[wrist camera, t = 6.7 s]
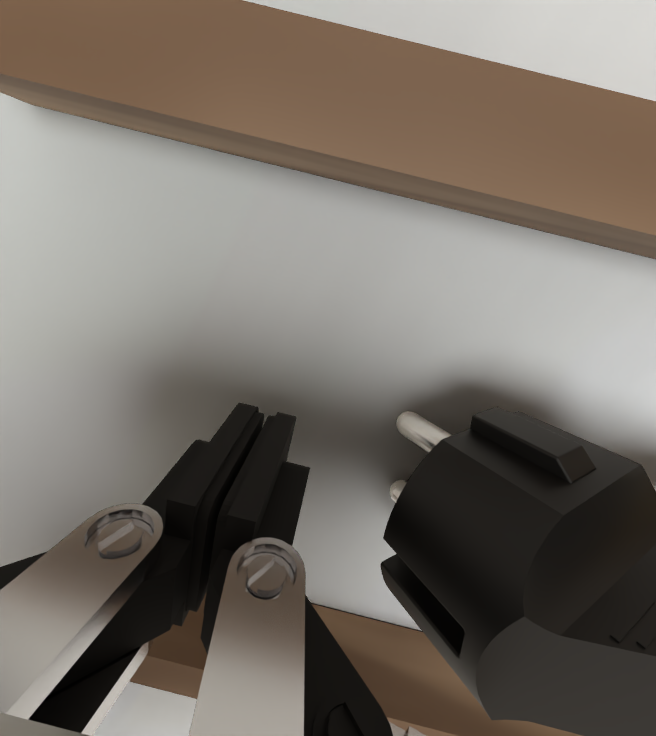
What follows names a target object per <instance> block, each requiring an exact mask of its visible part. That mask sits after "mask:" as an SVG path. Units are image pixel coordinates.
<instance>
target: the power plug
mask: <svg viewBox="0 0 656 736" xmlns="http://www.w3.org/2000/svg"><path fill="white" fill-rule="evenodd" d="M396 426H397V430H398V431H399V432H400V433H401V434H402V435H403V436H405V437H406V438H408V439H409V440H411V441H412V442H414V443H415V444H416V445H418V446H419V447H421V448H422V449H424V450H425V451H426V452H428V454H427V456H426V457H425V458H424V459H423V460H422V462H421V463H420V464H419V466H418V467H417V468H416V470H415V471H414V472H413V474H412V475H411V477H410V478H409V480H408V481H407V482H406V481H404V480H397V481H395V482H394V483H393V484H392V485H391V487H390V490H389V491H390V497H391V498H392V500H393V501H394V502H395V505H394V508H393V510H392V512H391V515H390V518H389V520H388V523H387V526H386V530H385V533H384V537H383V539H384V540H385V541H386V542H387V543H388V544H389V545H390V547H391V548H392V549H393V550H394V551H395V552H396V553H397V554H396V555H394V556H392V557H390V558H388V559H386V560H384V561H383V562H382V563H381V570H382V575H383V579H384V581H385V583H386V585H387V587H388V588H389V589H390V591H391V592H392V593H393V595H394V596H395V597H396V598H397V600H398V601H399V602H400V603H401V605H402V606H403V607H404V608H405V610H406V611H407V612H408V614H409V615H410V616H411V617H412V619H413V620H414V621H415V622H416V624H417V625H418V626H419V628H420V629H421V630H422V631H423V633H424V634H425V635H426V636H427V638H428V639H429V640H430V641H431V643H432V644H433V645H434V647H435V648H436V649H437V650H438V652H439V653H440V654H441V655H442V657H443V658H444V659H445V660H446V662H447V663H448V664H449V666H450V667H451V668H452V669H453V671H454V672H455V673H456V674H457V676H458V677H459V678H460V679H461V681H462V682H463V683H464V685H465V686H466V687H467V688H468V690H469V691H470V692H471V693H472V695H473V696H474V697H475V699H476V700H477V701H478V702H479V704H480V705H481V706H482V707H483V709H484V710H485V711H486V713H487V715H488V716H489V717H490V719H491V720H517V721H529V722H533V723H537V724H540V725H544V726H548V727H552V728H556V729H559V730H563V731H567V732H571V733H575V734H578V735H582V736H656V491H655V490H654V488H653V486H652V484H651V482H650V480H649V478H648V476H647V474H646V472H645V470H644V468H643V467H642V466H641V465H640V464H638V463H636V462H633V461H631V460H629V459H627V458H624V457H622V456H620V455H617V454H615V453H613V452H611V451H608V450H606V449H604V448H601V447H599V446H597V445H595V444H592V443H590V442H588V441H585V440H583V439H581V438H579V437H576V436H574V435H572V434H569V433H567V432H565V431H563V430H560V429H558V428H556V427H554V426H551V425H549V424H547V423H544V422H542V421H540V420H538V419H535V418H533V417H531V416H528V415H526V414H524V413H522V412H519V411H518V412H515V413H510V412H508V411H505V410H503V409H501V408H499V407H495V408H492V409H489V410H486V411H483V412H480V413H477V414H475V415H473V417H472V422H471V427H470V429H468V430H466V431H463V432H460V433H457V434H455V435H451V434H450V433H448V432H446V431H445V430H443V429H441V428H440V427H438V426H436V425H434V424H433V423H431V422H429V421H428V420H426V419H424V418H423V417H421V416H419V415H418V414H416V413H414V412H410V411H407V412H403V413H401V414H400V415H399V417H398V418H397V421H396Z"/></svg>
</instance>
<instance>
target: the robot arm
mask: <svg viewBox="0 0 656 736" xmlns="http://www.w3.org/2000/svg"><path fill="white" fill-rule="evenodd" d="M258 410H259V408H258V407H255V406H251V405H247V404H243V403H238V405H237V406H236V407H235V409H234V410H233V411H232V413H231V414H230V415H229V417H228V418H227V419H226V421H225V422H224V423H223V425H222V426H221V427H220V429H219V430H218V431H217V433H216V434H215V435H214V437H213V438H212V439H211V441H210V442H206V441H202V440H196V441H195V442H194V443H193V444H192V445H191V446H190V447H189V448H188V450H187V451H186V452H185V453H184V454H183V456H182V457H181V458H180V459H179V461H178V462H177V463H176V464H175V465H174V467H173V468H172V469H171V470H170V471H169V473H168V474H167V475H166V476H165V478H164V479H163V480H162V481H161V482H160V484H159V485H158V486H157V487H156V488H155V490H154V491H153V492H152V493H151V495H150V496H149V497H148V498H147V499H146V501H145V502H144V503H143V504H142V505H141V504H121V505H116V506H111V507H109V508H106V509H104V510H101V511H99V512H98V513H96V514H95V515H93V516H92V517H90V518H88V519H87V520H86V521H85V522H84V523H82V524H81V525H80V526H79V527H77V528H76V529H75V530H74V531H72V532H71V533H70V534H69V535H68V536H66V537H65V538H64V539H63V540H61V541H60V542H59V543H58V544H57V545H55V546H54V547H53V548H52V549H50V550H49V551H48V552H45V553H42V554H39V555H36V556H33V557H30V558H27V559H24V560H20V561H17V562H14V563H11V564H8V565H5V566H2V567H0V736H93V734H94V733H95V731H96V730H97V728H98V727H99V725H100V724H101V722H102V721H103V719H104V718H105V716H106V715H107V713H108V712H109V710H110V709H111V707H112V706H113V704H114V703H115V701H116V700H117V698H118V697H119V695H120V694H121V693H122V691H123V690H124V688H125V687H126V685H127V684H128V682H129V681H130V679H131V678H132V676H133V675H134V673H135V672H136V670H137V669H138V667H139V666H140V664H141V663H142V661H143V660H144V658H145V657H146V655H147V654H148V652H149V650H150V648H151V646H152V644H153V642H154V638H156V637H158V636H160V635H162V634H164V633H165V632H167V631H169V630H170V629H171V627H172V625H173V624H174V625H178V626H182V625H183V623H184V620H185V618H186V616H187V614H188V612H189V610H190V611H194V612H197V611H198V609H199V607H200V605H201V603H202V601H203V598H204V596H205V594H206V598H205V605H204V617H203V624H202V631H201V637H200V638H201V640H202V643H203V645H204V648H205V650H206V653H207V660H206V664H205V668H204V672H203V677H202V681H201V685H200V689H199V694H198V698H197V702H196V707H195V711H194V715H193V719H192V724H191V728H190V732H189V736H426V735H424V734H423V733H421V732H419V731H417V730H416V729H414V728H412V727H410V726H409V727H408V729H407V730H406V731H405V730H403V729H401V728H399V727H398V726H396V725H394V724H393V723H391V722H389V721H388V719H387V717H386V715H385V713H384V712H383V710H382V708H381V706H380V705H379V703H378V702H377V700H376V699H375V697H374V696H373V694H372V693H371V691H370V690H369V688H368V687H367V685H366V684H365V682H364V681H363V679H362V678H361V676H360V675H359V673H358V672H357V671H356V669H355V668H354V666H353V665H352V663H351V662H350V660H349V659H348V657H347V656H346V654H345V653H344V651H343V650H342V648H341V647H340V645H339V644H338V642H337V641H336V640H335V638H334V637H333V635H332V634H331V632H330V631H329V629H328V628H327V626H326V625H325V623H324V622H323V620H322V619H321V617H320V616H319V614H318V613H317V611H316V610H315V608H314V607H313V606H312V604H311V603H310V601H309V600H308V598H307V597H306V595H305V568H304V563H303V561H302V559H301V557H300V555H299V553H298V552H297V551H296V550H295V549H294V548H293V547H292V544H293V540H294V535H295V531H296V527H297V522H298V518H299V514H300V509H301V505H302V501H303V496H304V492H305V488H306V483H307V479H308V475H309V470H310V468H309V467H305V466H301V465H297V464H293V463H289V462H286V461H287V457H288V452H289V448H290V443H291V439H292V434H293V430H294V425H295V421H296V417H295V416H291V415H287V414H283V413H279V412H278V413H277V414H276V416H271V415H269V416H268V418H267V420H266V422H265V424H264V426H263V428H262V425H263V420H264V414H263V413H259V412H258Z"/></svg>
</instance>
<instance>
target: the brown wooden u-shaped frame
mask: <svg viewBox="0 0 656 736" xmlns="http://www.w3.org/2000/svg"><path fill="white" fill-rule="evenodd" d="M0 92H1V93H4V94H6V95H9V96H11V97H14V98H16V99H19V100H21V101H24V102H26V103H29V104H31V105H35V106H39V107H43V108H47V109H51V110H55V111H59V112H64V113H68V114H72V115H76V116H80V117H84V118H88V119H92V120H96V121H100V122H104V123H108V124H112V125H116V126H120V127H124V128H128V129H132V130H136V131H140V132H144V133H148V134H152V135H156V136H160V137H164V138H169V139H173V140H177V141H181V142H185V143H189V144H193V145H197V146H201V147H205V148H209V149H213V150H217V151H221V152H225V153H229V154H233V155H237V156H241V157H245V158H249V159H253V160H257V161H261V162H265V163H269V164H274V165H278V166H282V167H286V168H290V169H294V170H298V171H302V172H306V173H310V174H314V175H318V176H322V177H326V178H330V179H334V180H338V181H342V182H346V183H350V184H354V185H358V186H362V187H366V188H370V189H374V190H379V191H383V192H387V193H391V194H395V195H399V196H403V197H407V198H411V199H415V200H419V201H423V202H427V203H431V204H435V205H439V206H443V207H447V208H451V209H455V210H459V211H463V212H467V213H471V214H475V215H479V216H484V217H488V218H492V219H496V220H500V221H504V222H508V223H512V224H516V225H520V226H524V227H528V228H532V229H536V230H540V231H544V232H548V233H552V234H556V235H560V236H564V237H568V238H572V239H576V240H580V241H584V242H589V243H593V244H597V245H601V246H605V247H609V248H613V249H617V250H621V251H625V252H629V253H633V254H637V255H641V256H645V257H649V258H653V259H656V101H652V100H647V99H643V98H639V97H635V96H631V95H627V94H623V93H619V92H615V91H611V90H607V89H602V88H598V87H594V86H590V85H586V84H582V83H578V82H574V81H570V80H566V79H562V78H558V77H553V76H549V75H545V74H541V73H537V72H533V71H529V70H525V69H521V68H517V67H513V66H508V65H504V64H500V63H496V62H492V61H488V60H484V59H480V58H476V57H472V56H468V55H464V54H459V53H455V52H451V51H447V50H443V49H439V48H435V47H431V46H427V45H423V44H419V43H414V42H410V41H406V40H402V39H398V38H394V37H390V36H386V35H382V34H378V33H374V32H369V31H365V30H361V29H357V28H353V27H349V26H345V25H341V24H337V23H333V22H329V21H325V20H320V19H316V18H312V17H308V16H304V15H300V14H296V13H292V12H288V11H284V10H280V9H275V8H271V7H267V6H263V5H259V4H255V3H251V2H247V1H243V0H0ZM205 598H206V594H205V596H204V598H203V601H202V603H201V605H200V607H199V609H198V611H197V612H194V611H190V610H189V612H188V614H187V616H186V618H185V620H184V623H183V625H182V626H178V625H174V624H173V625H172V627H171V629H170V630H169V631H167V632H165V633H164V634H162V635H160V636H158V637H156V638H154V642H153V644H152V646H151V648H150V650H149V652H148V654H147V655H146V657H145V658H144V660H143V661H142V663H141V664H140V666H139V667H138V669H137V670H136V672H135V673H134V675H133V676H132V678H131V679H130V682H134V683H138V684H141V685H145V686H149V687H153V688H157V689H161V690H165V691H169V692H172V693H176V694H180V695H184V696H188V697H192V698H196V699H197V698H198V694H199V689H200V685H201V681H202V677H203V672H204V668H205V664H206V660H207V653H206V650H205V648H204V645H203V643H202V640H201V638H200V637H201V631H202V624H203V617H204V605H205ZM312 606H313V607H314V608H315V610H316V611H317V613H318V614H319V616H320V617H321V619H322V620H323V622H324V623H325V625H326V626H327V628H328V629H329V631H330V632H331V634H332V635H333V637H334V638H335V640H336V641H337V642H338V644H339V645H340V647H341V648H342V650H343V651H344V653H345V654H346V656H347V657H348V659H349V660H350V662H351V663H352V665H353V666H354V668H355V669H356V671H357V672H358V673H359V675H360V676H361V678H362V679H363V681H364V682H365V684H366V685H367V687H368V688H369V690H370V691H371V693H372V694H373V696H374V697H375V699H376V700H377V702H378V703H379V705H380V706H381V708H382V710H383V712H384V713H385V715H386V717H387V719H388V721H389V722H391V723H393V724H394V725H396V726H398V727H399V728H401V729H403V730H405V731H406V730H407V729H408V727H409V726H410V727H412V728H414V729H416V730H417V731H419V732H421V733H423V734H424V735H426V736H582V735H578V734H575V733H571V732H567V731H563V730H559V729H556V728H552V727H548V726H544V725H540V724H537V723H533V722H529V721H517V720H491V719H490V717H489V716H488V715H487V713H486V711H485V710H484V709H483V707H482V706H481V705H480V704H479V702H478V701H477V700H476V699H475V697H474V696H473V695H472V693H471V692H470V691H469V690H468V688H467V687H466V686H465V685H464V683H463V682H462V681H461V679H460V678H459V677H458V676H457V674H456V673H455V672H454V671H453V669H452V668H451V667H450V666H449V664H448V663H447V662H446V660H445V659H444V658H443V657H442V655H441V654H440V653H439V652H438V650H437V649H436V648H435V647H434V645H433V644H432V643H431V641H430V640H429V639H428V638H427V636H426V635H425V634H424V633H423V632H420V631H416V630H412V629H408V628H404V627H400V626H396V625H393V624H389V623H385V622H381V621H377V620H373V619H369V618H365V617H361V616H357V615H353V614H350V613H346V612H342V611H338V610H334V609H330V608H326V607H322V606H318V605H314V604H312Z"/></svg>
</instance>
